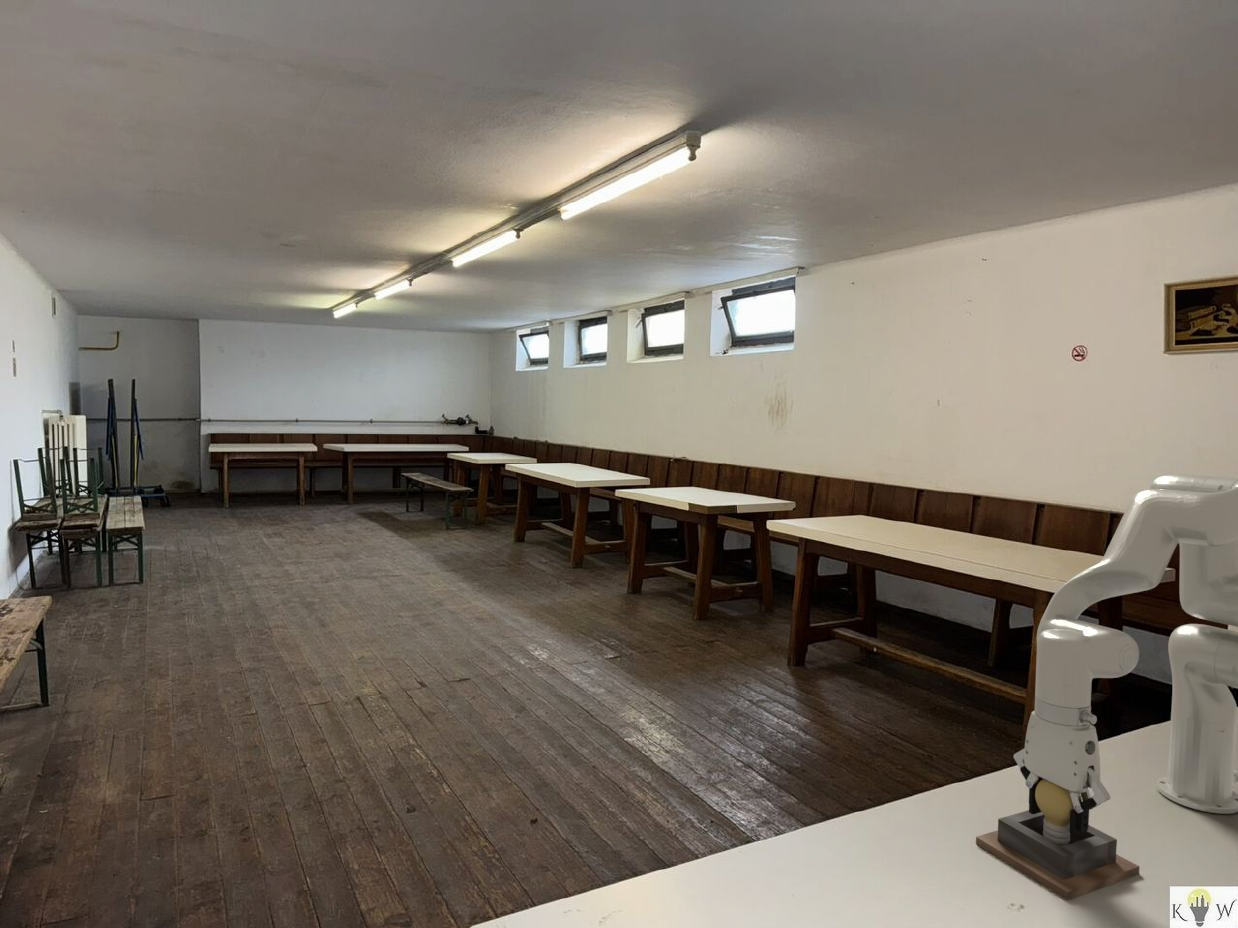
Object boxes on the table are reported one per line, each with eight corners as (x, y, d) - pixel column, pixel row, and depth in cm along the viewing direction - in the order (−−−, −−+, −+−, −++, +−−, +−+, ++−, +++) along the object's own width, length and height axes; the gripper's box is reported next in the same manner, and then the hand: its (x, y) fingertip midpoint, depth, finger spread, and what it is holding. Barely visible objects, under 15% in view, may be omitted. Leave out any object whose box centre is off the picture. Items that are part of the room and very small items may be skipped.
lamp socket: (1044, 822, 134) (1045, 795, 134) (1139, 873, 120) (1140, 843, 119) (975, 843, 128) (977, 815, 127) (1067, 899, 113) (1068, 867, 113)
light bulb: (1086, 854, 120) (1089, 791, 119) (1040, 849, 121) (1043, 787, 120) (1071, 832, 126) (1074, 771, 125) (1027, 827, 127) (1030, 768, 126)
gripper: (1133, 727, 116) (1127, 845, 117) (1029, 689, 131) (1025, 792, 133) (1099, 736, 113) (1094, 856, 114) (997, 695, 128) (993, 802, 130)
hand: (1057, 821), depth 123 cm, fingers closed on light bulb, 6 cm apart
